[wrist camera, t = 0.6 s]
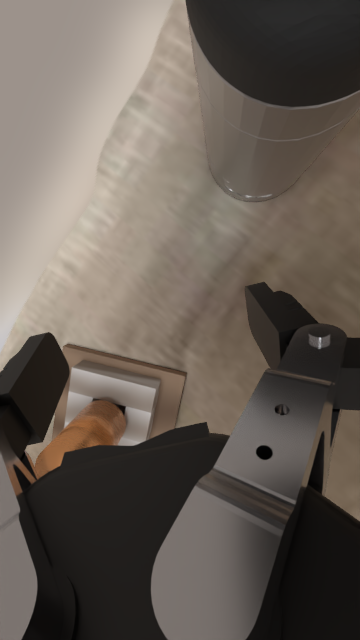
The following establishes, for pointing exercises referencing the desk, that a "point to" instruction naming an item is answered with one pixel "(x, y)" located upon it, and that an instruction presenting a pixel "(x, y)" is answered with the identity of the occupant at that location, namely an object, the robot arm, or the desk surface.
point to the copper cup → (85, 433)
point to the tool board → (157, 371)
